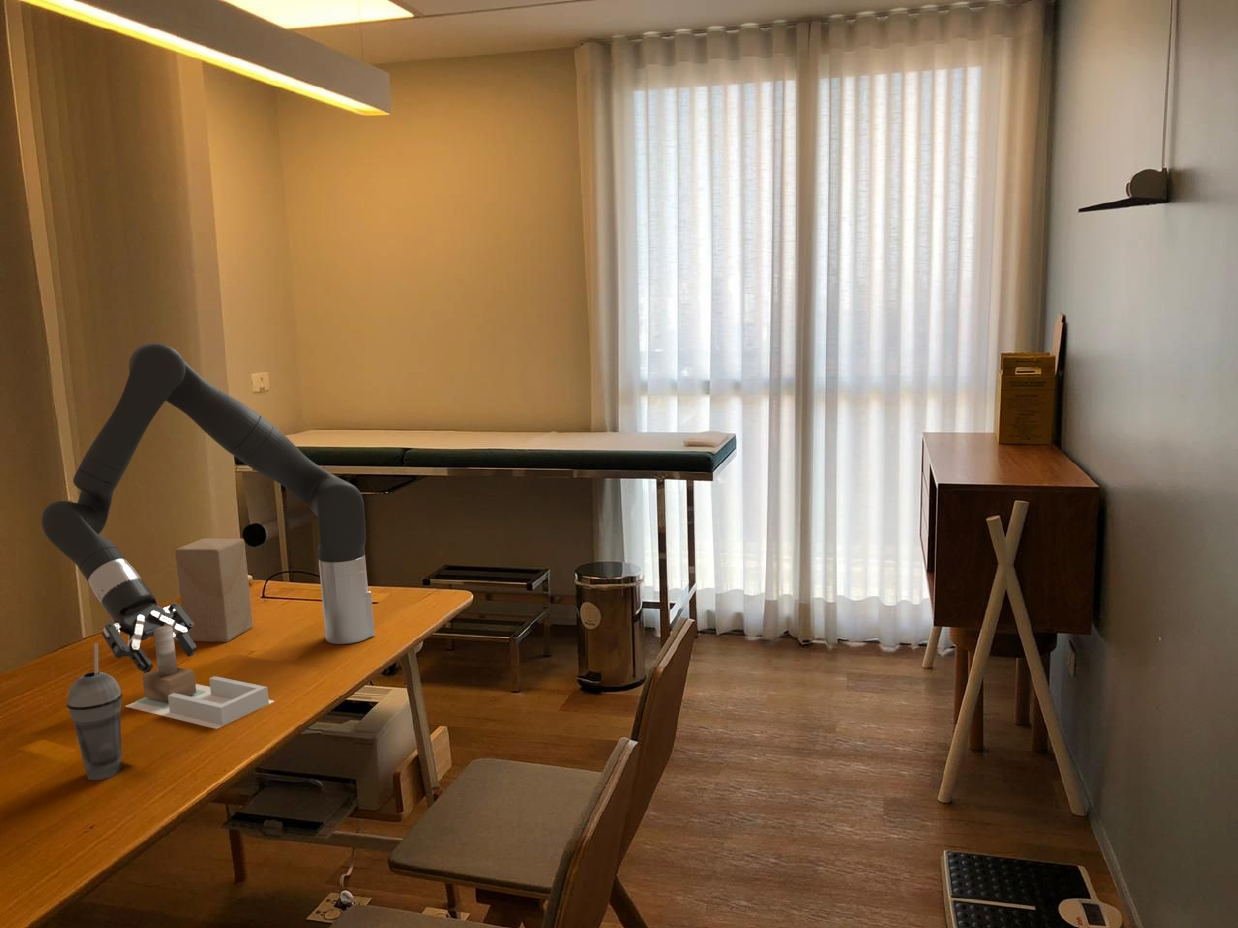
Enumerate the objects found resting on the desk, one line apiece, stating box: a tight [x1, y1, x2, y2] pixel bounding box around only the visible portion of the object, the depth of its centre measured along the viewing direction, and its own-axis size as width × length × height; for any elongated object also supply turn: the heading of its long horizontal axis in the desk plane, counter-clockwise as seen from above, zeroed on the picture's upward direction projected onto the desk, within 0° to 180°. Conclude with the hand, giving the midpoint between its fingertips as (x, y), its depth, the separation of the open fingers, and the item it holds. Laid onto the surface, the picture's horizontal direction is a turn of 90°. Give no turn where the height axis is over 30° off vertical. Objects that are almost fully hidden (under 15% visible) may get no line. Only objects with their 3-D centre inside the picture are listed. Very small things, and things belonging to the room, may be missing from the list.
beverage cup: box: [66, 643, 123, 781], centre depth 143 cm, size 7×7×20 cm
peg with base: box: [141, 625, 197, 703], centre depth 168 cm, size 7×5×12 cm
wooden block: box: [174, 537, 254, 643], centre depth 206 cm, size 10×10×20 cm
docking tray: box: [124, 676, 276, 730], centre depth 166 cm, size 23×12×4 cm, turn 62°
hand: (171, 661), depth 168 cm, fingers open, 8 cm apart
